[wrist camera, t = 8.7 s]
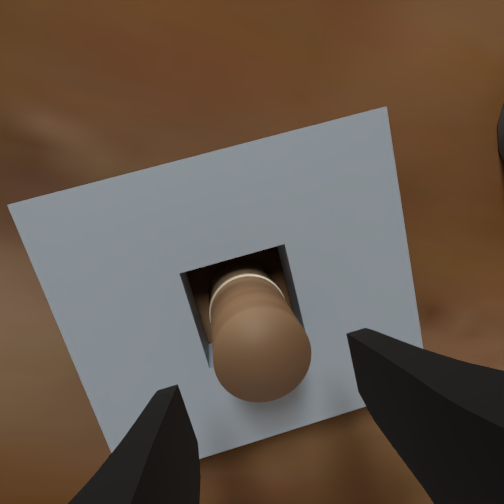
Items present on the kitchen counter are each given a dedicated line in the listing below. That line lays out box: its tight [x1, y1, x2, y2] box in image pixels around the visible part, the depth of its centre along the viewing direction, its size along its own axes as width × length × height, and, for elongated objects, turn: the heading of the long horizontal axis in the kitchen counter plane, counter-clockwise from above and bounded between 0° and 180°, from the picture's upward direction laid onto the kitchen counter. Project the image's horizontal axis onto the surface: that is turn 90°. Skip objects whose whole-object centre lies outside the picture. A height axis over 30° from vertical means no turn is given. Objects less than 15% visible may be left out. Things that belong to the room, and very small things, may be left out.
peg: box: [209, 261, 311, 403], centre depth 16 cm, size 4×4×7 cm
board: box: [7, 106, 423, 459], centre depth 18 cm, size 14×16×2 cm
